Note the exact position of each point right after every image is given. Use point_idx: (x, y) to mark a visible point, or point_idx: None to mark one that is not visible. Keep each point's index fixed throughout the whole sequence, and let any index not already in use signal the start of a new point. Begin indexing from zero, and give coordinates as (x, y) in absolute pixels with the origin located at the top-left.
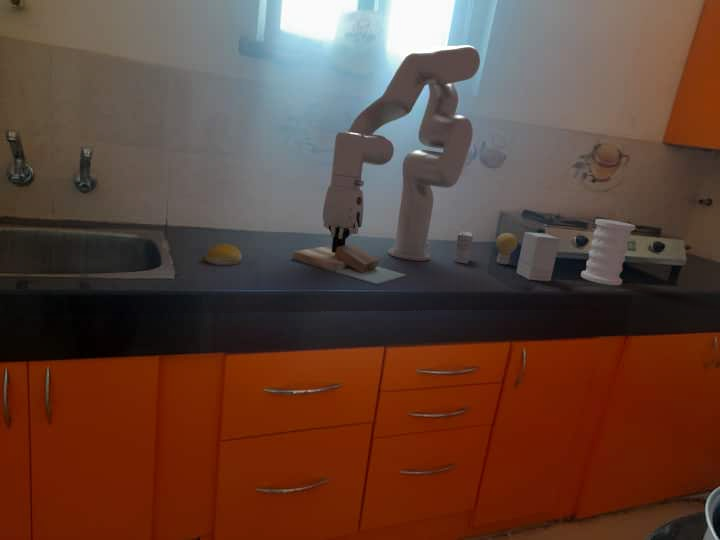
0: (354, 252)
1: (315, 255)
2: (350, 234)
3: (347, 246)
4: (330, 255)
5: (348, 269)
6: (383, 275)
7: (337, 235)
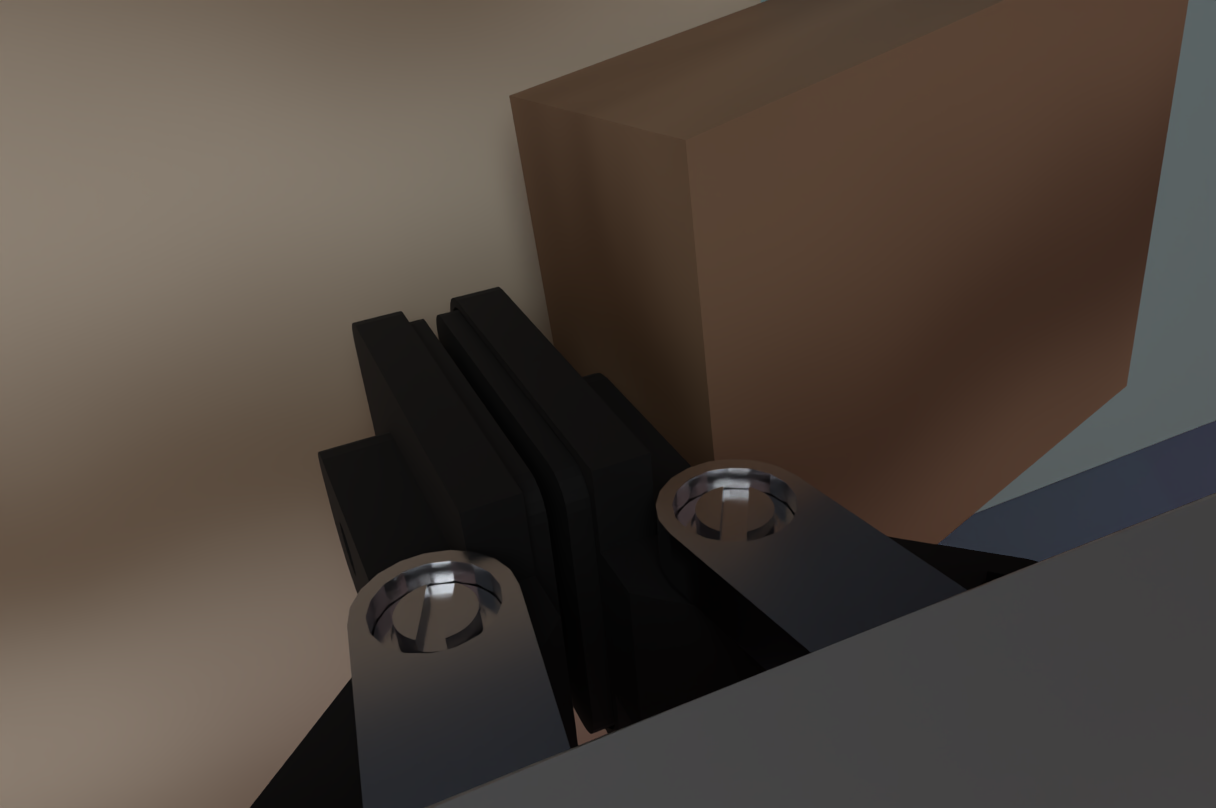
0: (934, 384)
1: (234, 761)
2: (978, 553)
3: (764, 435)
4: (311, 483)
5: None
6: (1203, 82)
7: (574, 743)
